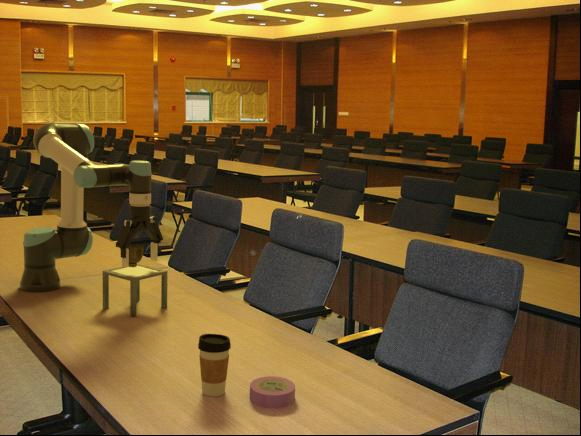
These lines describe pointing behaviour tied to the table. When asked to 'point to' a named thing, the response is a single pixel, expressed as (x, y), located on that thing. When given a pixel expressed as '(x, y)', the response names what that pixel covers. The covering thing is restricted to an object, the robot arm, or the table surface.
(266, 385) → the masking tape
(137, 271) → the trapdoor
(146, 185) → the robot arm
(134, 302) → the trapdoor frame
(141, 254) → the dark piece
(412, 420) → the table surface
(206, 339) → the coffee cup
